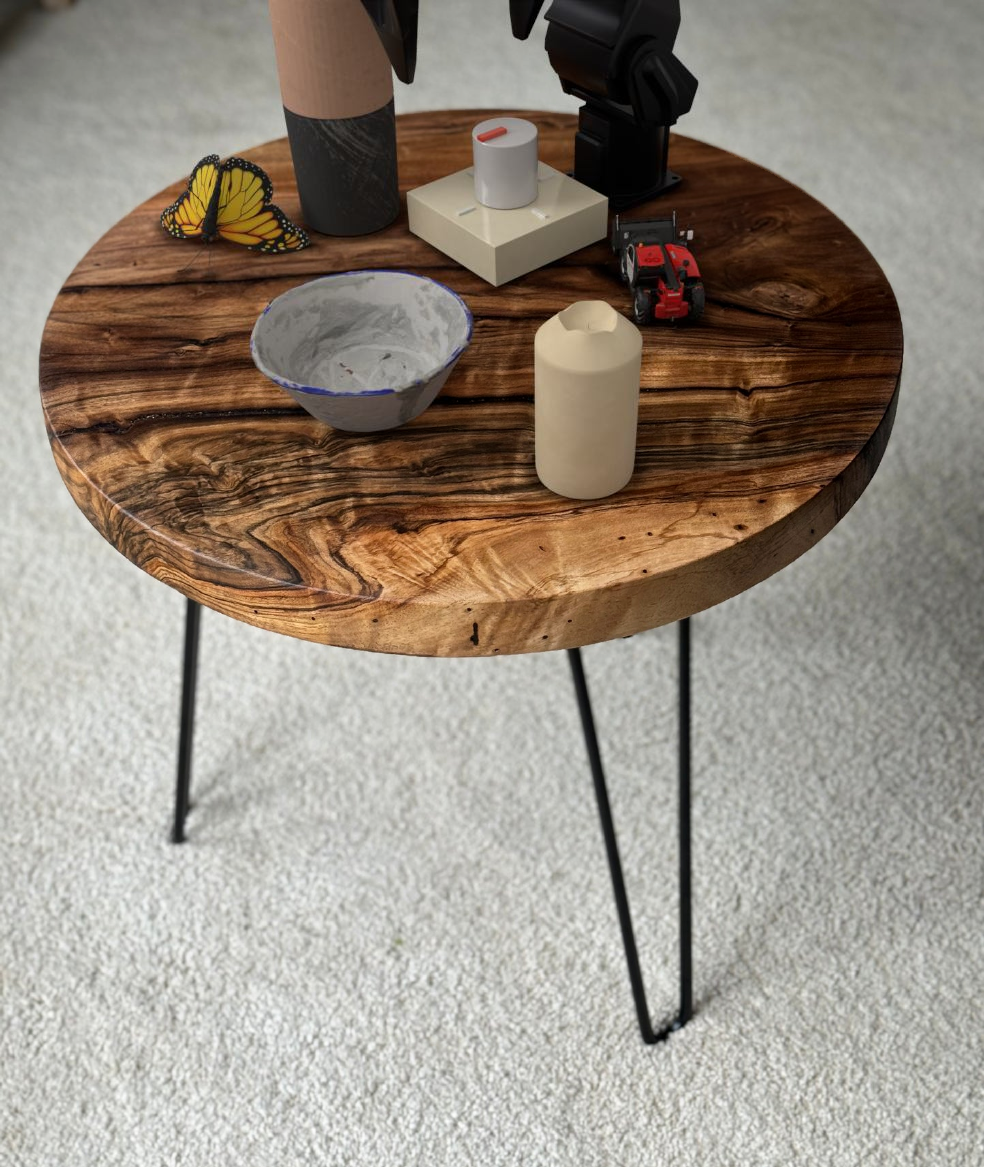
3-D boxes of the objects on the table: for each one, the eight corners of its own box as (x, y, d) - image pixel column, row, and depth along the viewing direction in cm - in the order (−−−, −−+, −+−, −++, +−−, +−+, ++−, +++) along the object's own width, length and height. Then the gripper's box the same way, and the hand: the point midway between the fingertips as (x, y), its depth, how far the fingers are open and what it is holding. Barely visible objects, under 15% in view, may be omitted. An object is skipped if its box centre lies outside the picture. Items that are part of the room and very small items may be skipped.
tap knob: (511, 172, 88) (509, 106, 84) (551, 195, 85) (551, 128, 82) (461, 192, 86) (458, 126, 82) (501, 216, 83) (499, 148, 80)
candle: (627, 506, 67) (637, 351, 60) (527, 495, 68) (525, 340, 61) (639, 443, 71) (650, 290, 63) (544, 433, 71) (544, 281, 64)
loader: (607, 244, 86) (610, 180, 83) (672, 239, 86) (677, 175, 83) (637, 341, 78) (642, 274, 74) (710, 335, 78) (717, 269, 75)
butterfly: (266, 285, 82) (295, 305, 87) (295, 157, 82) (322, 184, 87) (110, 258, 85) (146, 279, 90) (138, 133, 85) (173, 161, 90)
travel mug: (413, 191, 92) (391, -104, 79) (389, 241, 87) (361, -65, 73) (315, 185, 94) (276, -106, 80) (285, 235, 88) (238, -68, 74)
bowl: (477, 328, 79) (474, 262, 76) (475, 456, 70) (472, 387, 67) (276, 333, 79) (264, 267, 76) (249, 461, 70) (234, 392, 67)
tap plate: (517, 186, 93) (516, 145, 90) (607, 237, 87) (608, 195, 85) (409, 230, 88) (405, 189, 86) (496, 287, 83) (494, 245, 80)
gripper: (486, -285, 74) (495, -14, 86) (219, -224, 66) (268, 66, 77) (615, -257, 68) (607, 31, 79) (339, -186, 60) (373, 123, 71)
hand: (464, 59), depth 77 cm, fingers open, 9 cm apart
